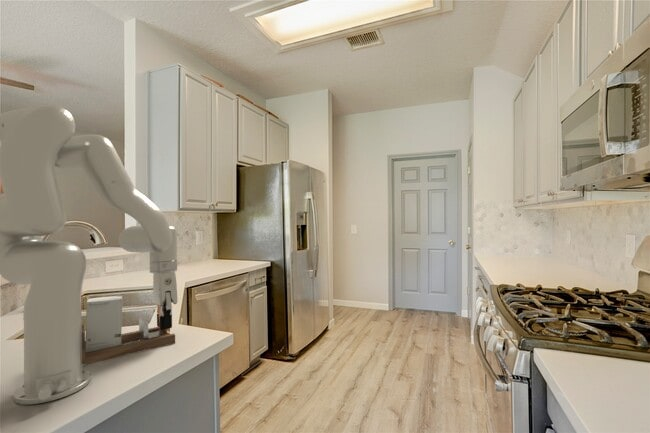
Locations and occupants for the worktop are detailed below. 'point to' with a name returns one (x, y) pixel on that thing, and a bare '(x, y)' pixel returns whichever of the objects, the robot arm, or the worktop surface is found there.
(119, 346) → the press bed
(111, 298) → the skincare box
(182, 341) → the worktop surface
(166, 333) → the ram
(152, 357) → the worktop surface
